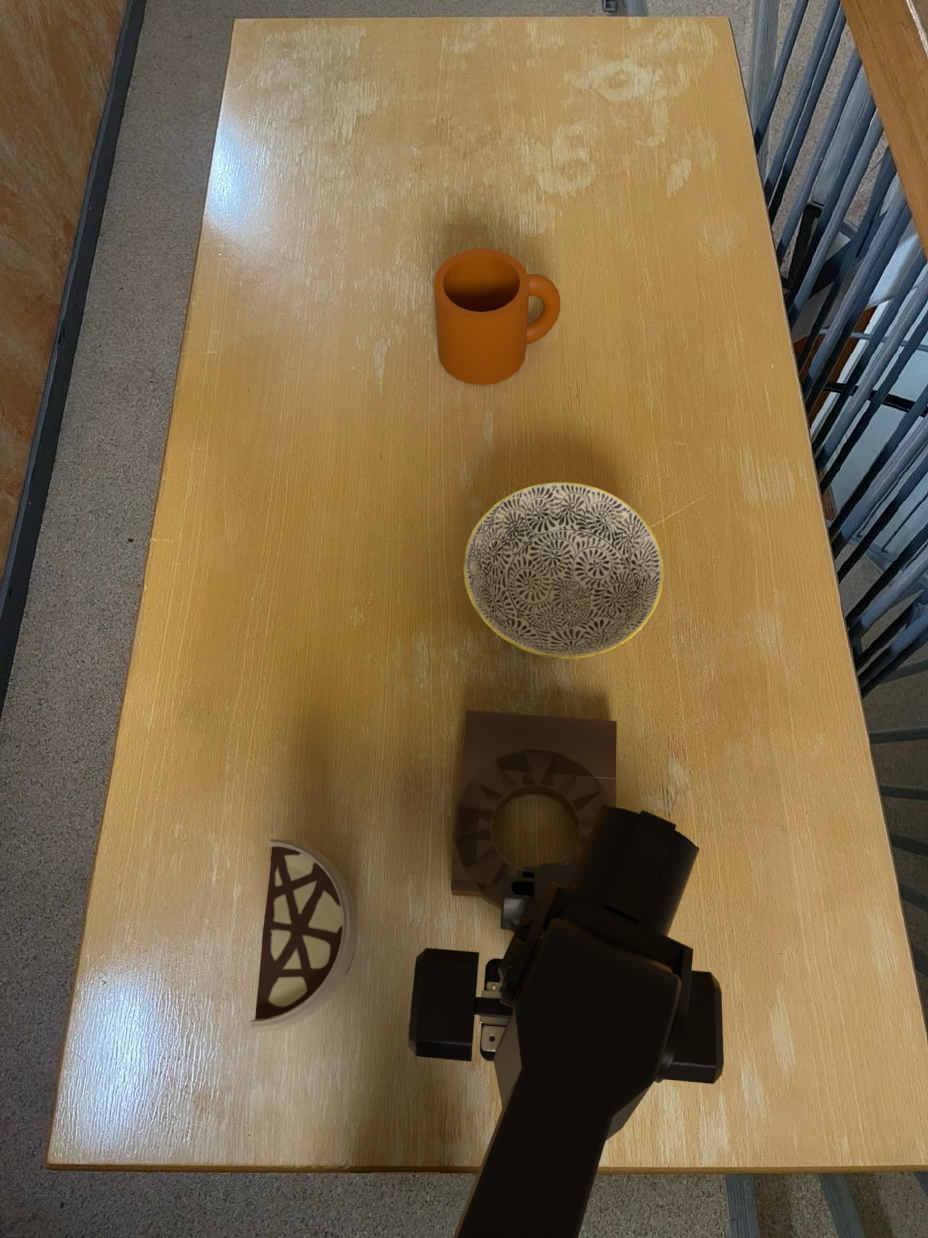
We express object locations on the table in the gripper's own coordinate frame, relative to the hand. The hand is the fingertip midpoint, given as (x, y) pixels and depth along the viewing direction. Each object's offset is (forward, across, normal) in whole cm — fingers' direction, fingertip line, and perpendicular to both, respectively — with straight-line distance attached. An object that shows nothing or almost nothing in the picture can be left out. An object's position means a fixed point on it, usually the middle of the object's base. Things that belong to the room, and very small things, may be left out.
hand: (555, 1017), depth 64 cm
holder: (+2, +2, -15) cm, 15 cm away
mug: (+3, +8, -61) cm, 62 cm away
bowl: (+3, +1, -33) cm, 33 cm away
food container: (+3, +17, -4) cm, 17 cm away
